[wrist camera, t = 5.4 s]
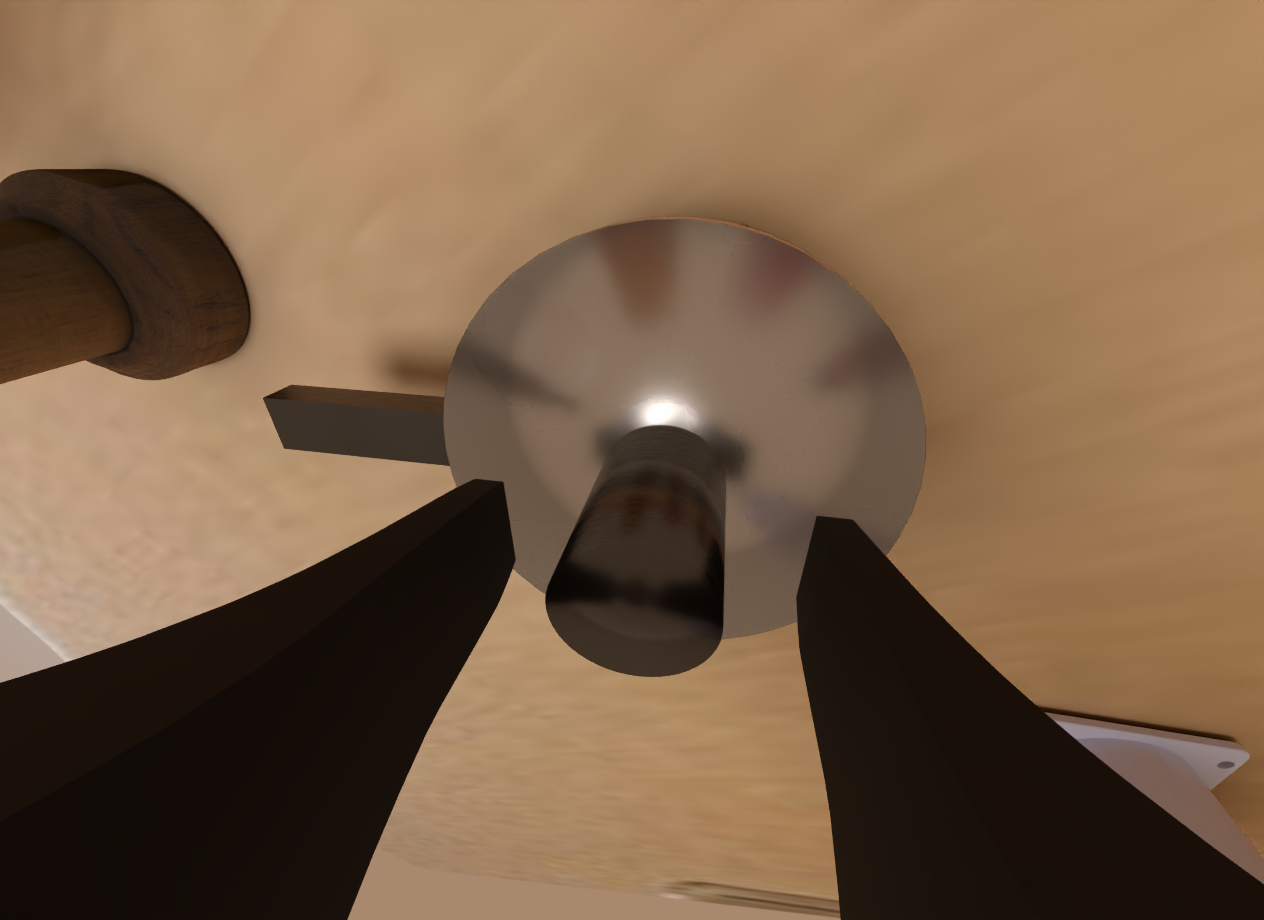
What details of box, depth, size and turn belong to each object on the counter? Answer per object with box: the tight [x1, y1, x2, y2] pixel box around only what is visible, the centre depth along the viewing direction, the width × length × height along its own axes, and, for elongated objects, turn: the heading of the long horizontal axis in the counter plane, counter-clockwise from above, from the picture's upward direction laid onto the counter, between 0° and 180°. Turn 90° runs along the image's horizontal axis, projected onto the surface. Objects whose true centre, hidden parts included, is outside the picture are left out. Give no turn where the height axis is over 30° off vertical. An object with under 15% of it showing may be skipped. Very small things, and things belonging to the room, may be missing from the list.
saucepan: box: [263, 224, 750, 466], centre depth 14 cm, size 10×16×5 cm, turn 90°
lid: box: [443, 216, 926, 677], centre depth 10 cm, size 11×11×6 cm
